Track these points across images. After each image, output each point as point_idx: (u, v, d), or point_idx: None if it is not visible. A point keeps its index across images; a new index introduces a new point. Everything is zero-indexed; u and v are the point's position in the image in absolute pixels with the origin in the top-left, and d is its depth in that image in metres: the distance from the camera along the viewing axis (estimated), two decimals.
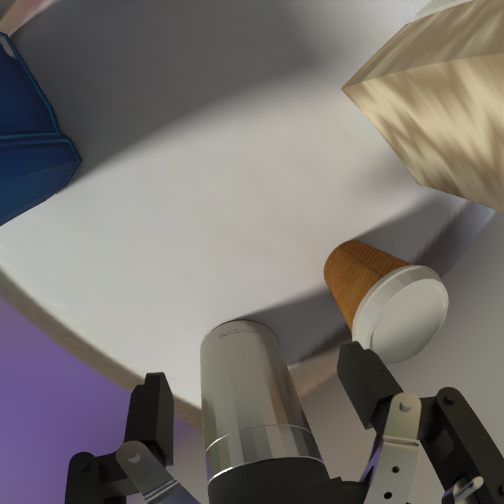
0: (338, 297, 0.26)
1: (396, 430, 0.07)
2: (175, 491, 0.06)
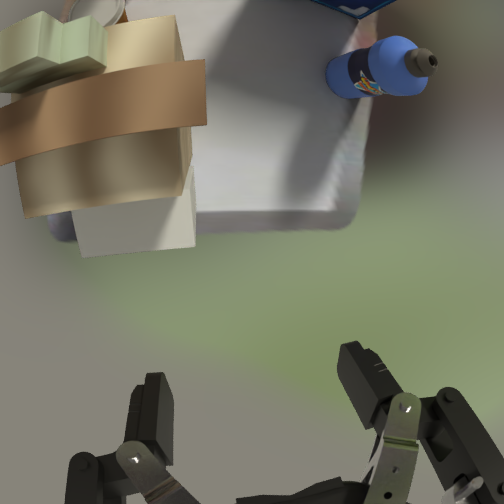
0: None
1: (396, 430, 0.07)
2: (175, 490, 0.06)
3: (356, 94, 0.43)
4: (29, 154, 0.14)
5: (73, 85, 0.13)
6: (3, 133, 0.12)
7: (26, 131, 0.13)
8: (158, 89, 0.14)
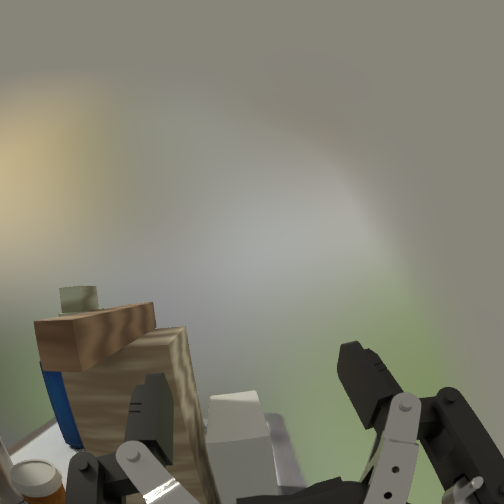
0: None
1: (396, 430, 0.07)
2: (175, 491, 0.06)
3: None
4: (129, 307, 0.32)
5: (113, 307, 0.35)
6: None
7: (117, 308, 0.32)
8: (134, 304, 0.41)
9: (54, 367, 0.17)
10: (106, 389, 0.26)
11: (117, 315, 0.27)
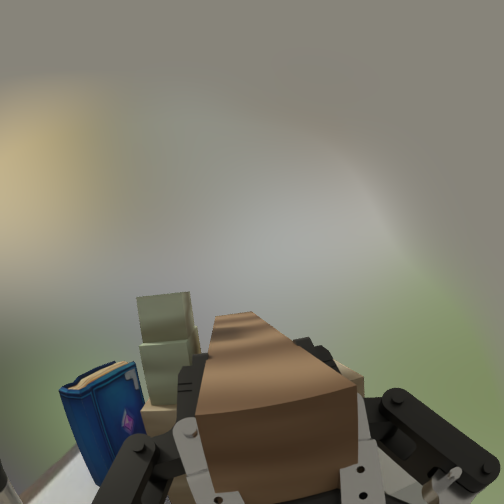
0: None
1: None
2: None
3: None
4: (266, 324, 0.21)
5: (216, 324, 0.24)
6: (241, 332, 0.18)
7: (245, 327, 0.20)
8: (231, 316, 0.29)
9: None
10: None
11: None
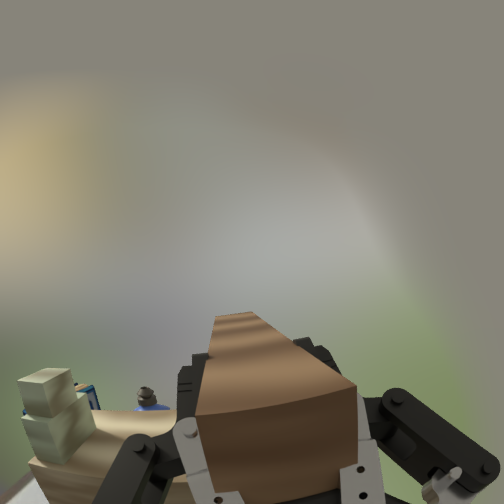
0: None
1: None
2: None
3: None
4: (266, 324, 0.21)
5: (216, 324, 0.24)
6: (241, 332, 0.18)
7: (245, 327, 0.20)
8: (231, 316, 0.29)
9: None
10: None
11: None
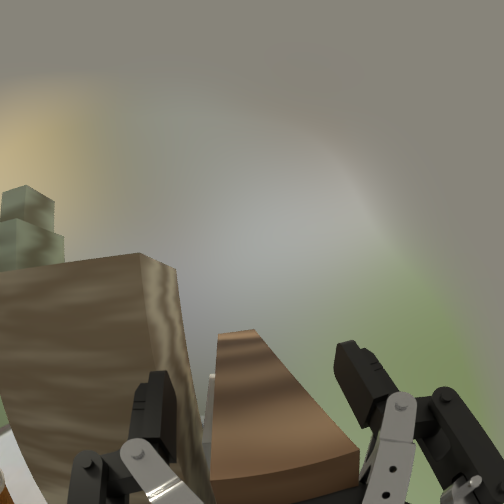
0: None
1: (391, 429, 0.07)
2: (178, 489, 0.06)
3: None
4: (270, 351, 0.20)
5: (220, 348, 0.23)
6: (245, 362, 0.18)
7: (249, 354, 0.20)
8: (233, 335, 0.29)
9: None
10: (38, 339, 0.14)
11: None
